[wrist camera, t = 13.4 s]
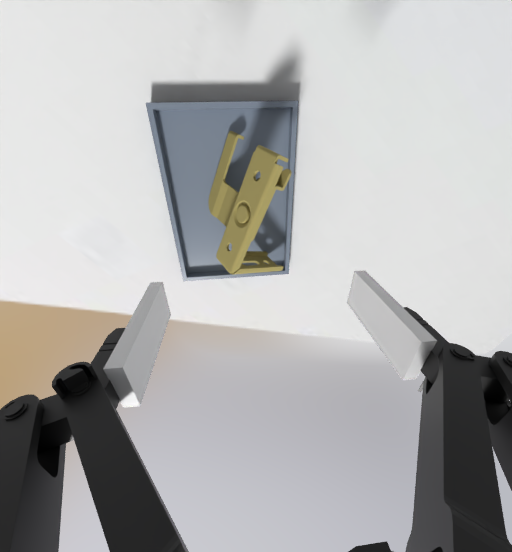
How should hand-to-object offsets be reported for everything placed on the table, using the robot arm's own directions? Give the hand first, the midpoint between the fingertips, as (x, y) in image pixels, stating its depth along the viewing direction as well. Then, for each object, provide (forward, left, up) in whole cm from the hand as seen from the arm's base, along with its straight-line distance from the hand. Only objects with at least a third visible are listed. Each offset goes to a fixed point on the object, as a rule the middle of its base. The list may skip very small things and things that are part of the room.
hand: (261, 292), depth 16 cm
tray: (-1, -2, -22) cm, 22 cm away
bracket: (-1, +3, -19) cm, 20 cm away
